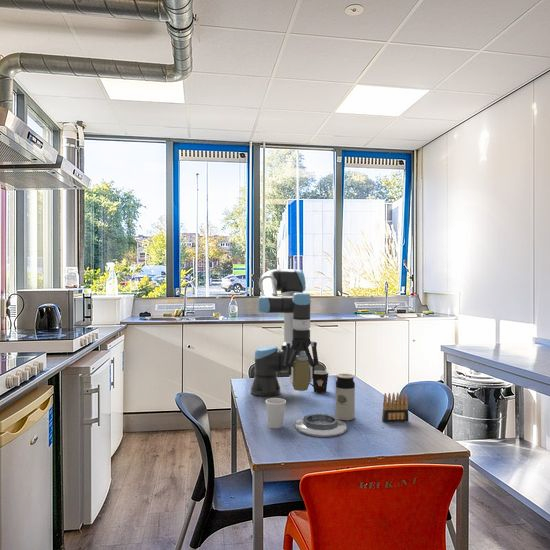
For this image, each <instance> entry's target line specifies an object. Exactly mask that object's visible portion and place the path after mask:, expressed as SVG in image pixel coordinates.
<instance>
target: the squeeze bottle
mask: <svg viewBox="0 0 550 550" xmlns="http://www.w3.org/2000/svg"><path fill="white" fill-rule="evenodd" d="M306 358H307V356H304V352H303V351H299V354H298V355H297V356H296V361H294V363H293V383H291V384H292V387H293V390H295V391H298V392H303V391H308V389H309V386H310V383H311V382H310V373H309V366H310V363H309V361H308V360H306ZM307 359H308V358H307Z"/></svg>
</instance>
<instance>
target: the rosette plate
mask: <svg viewBox="0 0 550 550" xmlns="http://www.w3.org/2000/svg"><path fill="white" fill-rule="evenodd" d="M335 416H336V415H335ZM335 416H334V415H332V414H326V413H312V414H308V415H305V416H304V417H302V418H298V419H297V420H296V421H295V422H294V423H295V424H294V425H295V430H296V431H297V432H298V433H300V434H302V435H305V436H308V437H316V438H332V436H335V437H339V436H341V434H342V435H344V434H345V433H346V432H347V424H346V423H345V422H344V420H340V419H337V418H336V417H335ZM343 433H344V434H343ZM338 435H339V436H338Z"/></svg>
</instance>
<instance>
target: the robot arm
mask: <svg viewBox="0 0 550 550" xmlns="http://www.w3.org/2000/svg"><path fill="white" fill-rule="evenodd" d="M258 287H259V290H260V292H261V296H259V297H258V302H257V303H258V305H257V307H258V309H257V310H258V312H259V313H260V314H261V313H263V314H283V326H284V327H283V329H284V330H283V335H284V336H283V338H284V339H283V341H284V342H283V344H281V348H280V349H279V348H278V346H276V345H273V346H272V345H268V346H267V345H266V346H262V347H258V348H257V349H255V351H254V378H253V380H252V381H253V382H252V385H251V387H250V393H251V394H252V395H254V396H257V395H259V396H258V397H274V396H278V395H280V394H281V385H280V383H279V380H278V373H287V375H288V376H289V383H290V384H292V383H293V363H294V361H296V356H297V355H298V354H299V351H303V352H304V356H307V358H306V361H308V362H309V373H310V383H313V379H312V374H314V371H315V367H316V366H318V365H319V357H318V356H319V355H318V349H317V345H318V342H317V341H314V340H313V341H312V340H311V329H310V328H311V303H312V299H311V294H310V293H308V292H306V289H307V287H306V278H305V274H304V271H302V270H301V269H295V268H291V269H289V268H287V269H286V268H285V269H283V268H282V269H281V268H280V269H277V268H276V269H275V268H274V269H270V270H267V271H266V272H264V273H263V274H261V276H260V277H259V280H258ZM278 292H280V295H278ZM309 347H311V351H310V348H309ZM311 352H312V355H311Z"/></svg>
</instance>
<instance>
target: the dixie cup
mask: <svg viewBox="0 0 550 550" xmlns="http://www.w3.org/2000/svg"><path fill="white" fill-rule="evenodd" d="M286 403H287V400H286V399H284V398H282V397H281V398H280V397H270V398H266V400H265V408H266V415H267V423H268V424H267V425H268V427H269V428H270V427H271V428H270V429H281V428H283V426H284V419H285V411H286Z"/></svg>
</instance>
